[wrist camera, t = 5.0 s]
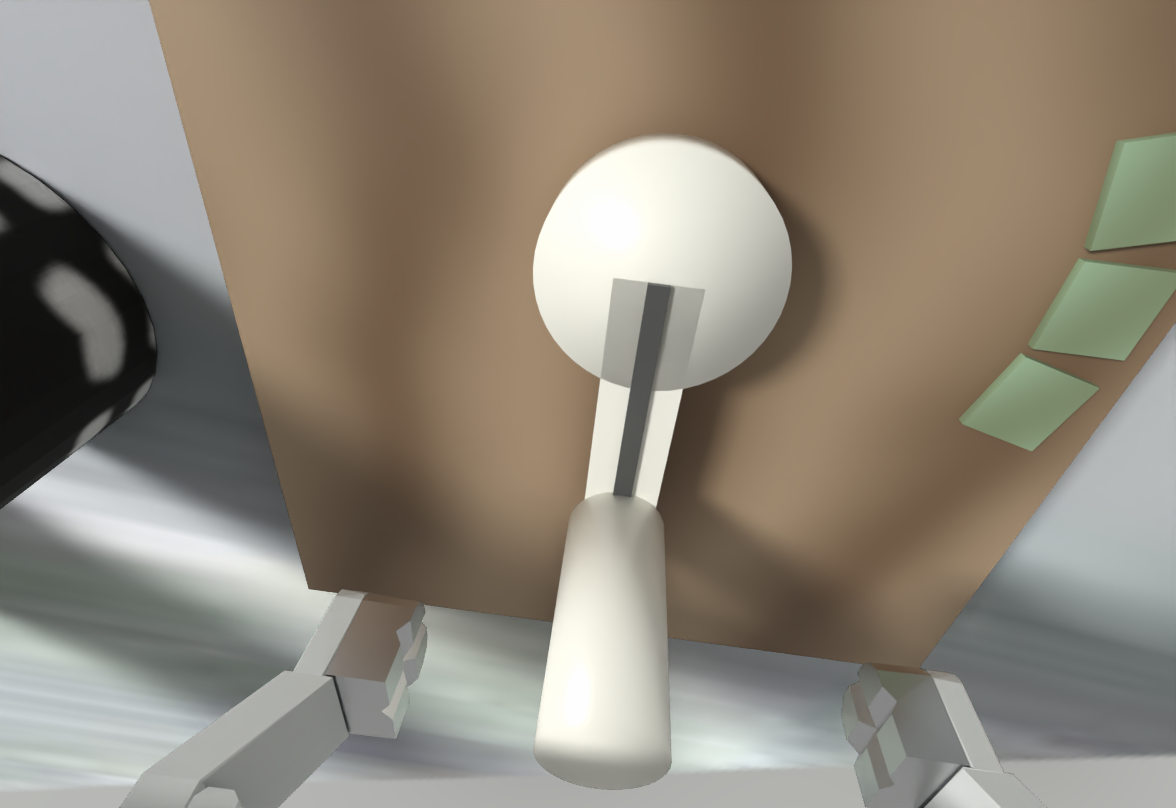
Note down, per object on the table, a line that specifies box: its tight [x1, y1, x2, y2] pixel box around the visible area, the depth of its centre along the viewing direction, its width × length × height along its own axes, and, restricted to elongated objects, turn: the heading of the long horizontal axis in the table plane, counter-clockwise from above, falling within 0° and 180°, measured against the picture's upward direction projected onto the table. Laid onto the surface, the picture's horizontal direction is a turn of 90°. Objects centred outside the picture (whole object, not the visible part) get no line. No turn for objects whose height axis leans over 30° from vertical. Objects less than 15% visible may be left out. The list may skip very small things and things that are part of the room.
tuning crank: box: [533, 133, 792, 790], centre depth 10 cm, size 10×4×6 cm, turn 174°
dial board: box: [149, 0, 1176, 668], centre depth 13 cm, size 19×20×2 cm
